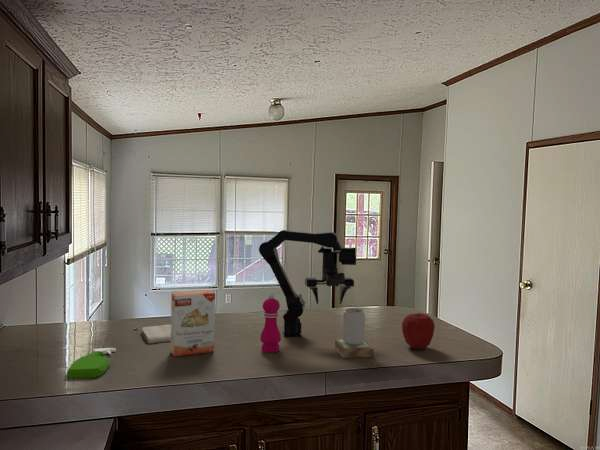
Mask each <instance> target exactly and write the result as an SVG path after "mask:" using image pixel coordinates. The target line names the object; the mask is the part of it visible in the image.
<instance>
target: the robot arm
mask: <svg viewBox="0 0 600 450" xmlns="http://www.w3.org/2000/svg"><path fill="white" fill-rule="evenodd" d="M285 241H291V242H300V243H311V244H316V245H318V246H320V247H321V248H320V249H318V251H317V253H319V254H322V266H321V267H322V269H321V270H322V271H321V273H322V276H321V279H317V278H316V277H306V278H305V279H304V285H305V286H306V287H308V288H309V289H310V290H311V291H312V294H313V296H314V300H315V303H316V305H319V295H318V289H319V288H318V285H326V286H327V287H339V299H338V300H339V301H338V302H339V303H338V304H339V305H341V304H342V302H343V300H344V297H345V295H346V293H347V291H348V290H350V289H351V288H352V287H355V280H354V279H353V278H352V277H350V276H348V277H347V276H345V275H346V274H345V273H344V272H338V263H341V265H342V266H345V265H346V266H357V249H356V247H343V246H342V244H341V243H340V241H339V238H338V235H337V234H336V233H335V232H333V231H329V232H328V231H327V232H315V233H313V232H303V231H295V230H294V231H292V230H286V229H283V230H280V231H278V233H276V235H275V236H273V237H272V238H271V239H269V240H267V241H264V242H262V243H261V244H260V245H259V247H258V252H259V254H260V256H261V257H262V258H263V260H265V262H266V263H267V264H268V265H269V266H270V268H271V270H272V273H273V274H274V277H275V279H276V280H277V281H276V282H277V283H278V284H279V287H280V288H281V289H280V290H281V292H282V293H283V295H284V297H285V303H286V307H287V310H286V311H285V313H284V314H283V315H282V318H283V322H282V323H283V327H282V328H283V330H282V335H283V337H301V336H302V322H301V319H300V318H299V317H301V316H302V315H303V313H304V311H305V309H306V305H305V304H306V301H305V300H304V299H303V295H302V294H301V293H299V294H298V293H297V292H295V289H294V288H293V286H292V283H291V282H290V280H289V277H288V275H287V273H286V272H285V269H284V267H283V265H282V264H281V263H282V262H281V261H280V258H279V251H278V249H277V248H278V247H279V246H280V245H281V244H283V243H284V242H285Z"/></svg>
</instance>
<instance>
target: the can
mask: <svg viewBox="0 0 600 450" xmlns="http://www.w3.org/2000/svg"><path fill="white" fill-rule="evenodd" d="M342 323H343V326H342V327H343V328H342V331H343V333H342V336H343V337H342V340H343V341H344V342H345V343H346V344H348V345H354V346H356V345H361V344H362V343H363V342H364V339H365V336H366V334H365V333H366V330H365V328H366V327H365V326H366V314H365V313H364V310H363V309H362V308H358V307H350V308H349V307H347V308H346V309H345V312H343V322H342Z"/></svg>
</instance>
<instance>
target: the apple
mask: <svg viewBox="0 0 600 450" xmlns="http://www.w3.org/2000/svg"><path fill="white" fill-rule="evenodd" d="M401 328H402V330H401V331H402V335H403V338H404V340H405V343H406V344H407V345H408V346H409V347H411V348H412V349H415V350H419V351H420V350H425V349H426V348H427V347H428V346H430V344H431V342H432V339H433V337H434V334H435V328H436V327H435V322H434V319H432V317H430V315H429V314H426V313H410V314H408V315H406V316H405V317H404V318H403V319H402V323H401Z"/></svg>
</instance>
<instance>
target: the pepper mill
mask: <svg viewBox="0 0 600 450" xmlns="http://www.w3.org/2000/svg"><path fill="white" fill-rule="evenodd" d="M274 297H275V296H274V294H272V293H270V294H269V296H268V298H266V299H265V300H264V301H263V303H262V309H263V312H264V313H263V314H264V315H263V317H264V326H263V328H262V331H261V333H260V342H261V343H262V345H261V351H262V352H263V353H268V354H271V353H272V354H274V353H277V352H279V351H280V345H279V343H280V341H281V339H282V335H281V332H280V329H279V327H278V324H277V323H278V322H277V321H278V320H277V319H278V317H279V312H278V311H279V310H280V307H281V305H280V302H279V300H278V299H276V298H274Z"/></svg>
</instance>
